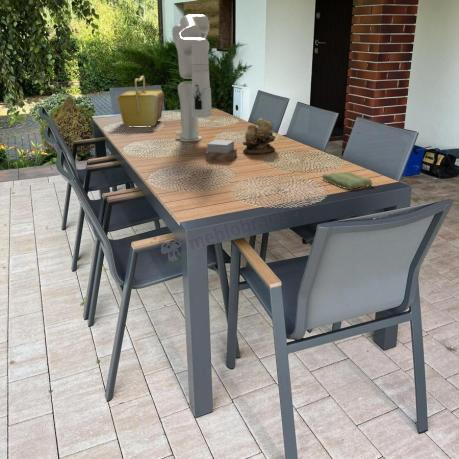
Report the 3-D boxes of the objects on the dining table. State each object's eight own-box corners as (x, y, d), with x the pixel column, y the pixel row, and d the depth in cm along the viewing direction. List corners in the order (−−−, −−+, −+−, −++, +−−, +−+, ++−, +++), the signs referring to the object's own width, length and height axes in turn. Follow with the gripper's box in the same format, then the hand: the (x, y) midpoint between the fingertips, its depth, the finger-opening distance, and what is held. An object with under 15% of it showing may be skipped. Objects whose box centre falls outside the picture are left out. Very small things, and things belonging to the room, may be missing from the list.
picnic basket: (159, 128, 302) (156, 78, 290) (119, 128, 303) (114, 79, 291) (165, 120, 329) (162, 74, 317) (128, 120, 330) (124, 75, 318)
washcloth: (344, 176, 200) (345, 168, 199) (374, 187, 186) (374, 179, 184) (319, 180, 195) (320, 172, 194) (347, 192, 180) (348, 184, 179)
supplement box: (212, 115, 224) (211, 87, 219) (206, 118, 218) (205, 89, 213) (198, 114, 227) (197, 87, 222) (191, 117, 220) (190, 89, 215)
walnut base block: (205, 160, 226) (205, 152, 225) (213, 155, 237) (213, 147, 235) (229, 162, 223) (229, 154, 221) (236, 156, 234) (236, 148, 232)
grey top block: (207, 152, 226) (207, 143, 224) (214, 147, 234) (214, 139, 233) (227, 153, 223) (227, 145, 221) (234, 148, 231) (234, 140, 230)
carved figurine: (268, 147, 249) (269, 114, 242) (281, 152, 239) (282, 118, 232) (238, 151, 241) (238, 117, 235) (249, 156, 232) (250, 121, 225)
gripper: (200, 66, 223) (201, 105, 230) (184, 69, 208) (186, 110, 214) (215, 66, 220) (215, 105, 227) (200, 69, 205) (202, 111, 212)
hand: (201, 107), depth 221 cm, fingers closed on supplement box, 7 cm apart
